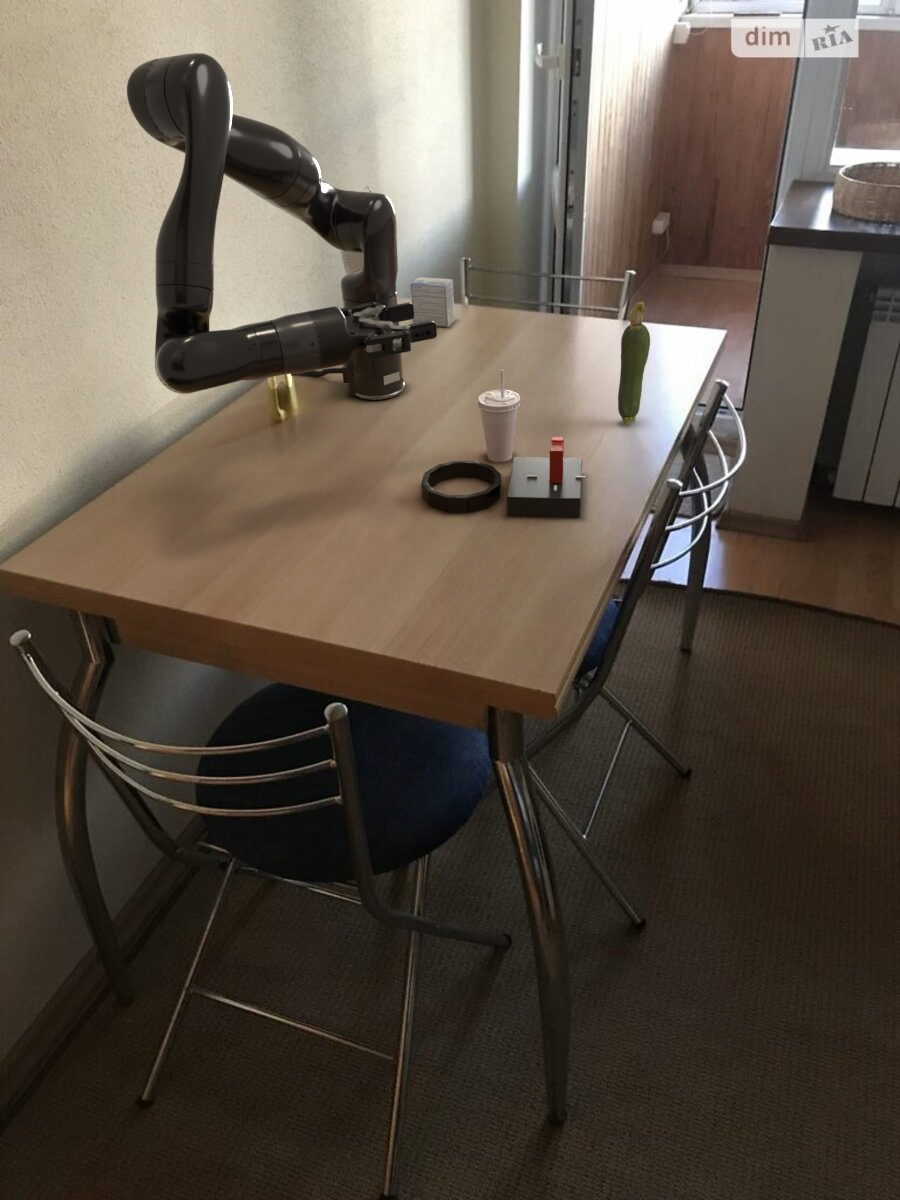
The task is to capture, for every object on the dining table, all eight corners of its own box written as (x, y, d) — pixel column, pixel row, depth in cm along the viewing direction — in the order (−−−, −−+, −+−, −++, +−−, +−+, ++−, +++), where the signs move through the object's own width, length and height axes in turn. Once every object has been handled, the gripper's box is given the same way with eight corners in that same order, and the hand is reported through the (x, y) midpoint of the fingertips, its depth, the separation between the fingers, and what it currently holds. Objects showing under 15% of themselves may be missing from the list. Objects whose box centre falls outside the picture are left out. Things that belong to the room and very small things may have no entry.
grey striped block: (455, 320, 198) (453, 278, 193) (448, 328, 195) (446, 285, 190) (420, 318, 200) (417, 276, 195) (412, 325, 197) (409, 283, 192)
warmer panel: (507, 515, 132) (506, 495, 130) (513, 475, 141) (513, 455, 140) (584, 517, 130) (585, 497, 128) (585, 476, 140) (586, 457, 138)
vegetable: (613, 417, 156) (620, 295, 145) (640, 415, 156) (648, 293, 145) (620, 428, 152) (627, 304, 141) (646, 426, 153) (656, 302, 141)
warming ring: (417, 512, 134) (416, 496, 132) (429, 474, 143) (428, 459, 141) (497, 514, 132) (496, 498, 131) (504, 476, 141) (503, 461, 140)
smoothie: (517, 467, 143) (517, 379, 135) (475, 465, 144) (472, 377, 136) (523, 448, 148) (523, 362, 140) (482, 446, 150) (480, 360, 142)
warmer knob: (562, 483, 132) (563, 449, 129) (549, 483, 132) (549, 449, 129) (563, 470, 135) (564, 436, 132) (550, 470, 136) (551, 436, 133)
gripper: (321, 330, 118) (442, 307, 122) (291, 297, 129) (403, 277, 133) (328, 387, 122) (445, 363, 127) (299, 351, 133) (407, 330, 138)
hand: (423, 319), depth 130 cm, fingers open, 8 cm apart
